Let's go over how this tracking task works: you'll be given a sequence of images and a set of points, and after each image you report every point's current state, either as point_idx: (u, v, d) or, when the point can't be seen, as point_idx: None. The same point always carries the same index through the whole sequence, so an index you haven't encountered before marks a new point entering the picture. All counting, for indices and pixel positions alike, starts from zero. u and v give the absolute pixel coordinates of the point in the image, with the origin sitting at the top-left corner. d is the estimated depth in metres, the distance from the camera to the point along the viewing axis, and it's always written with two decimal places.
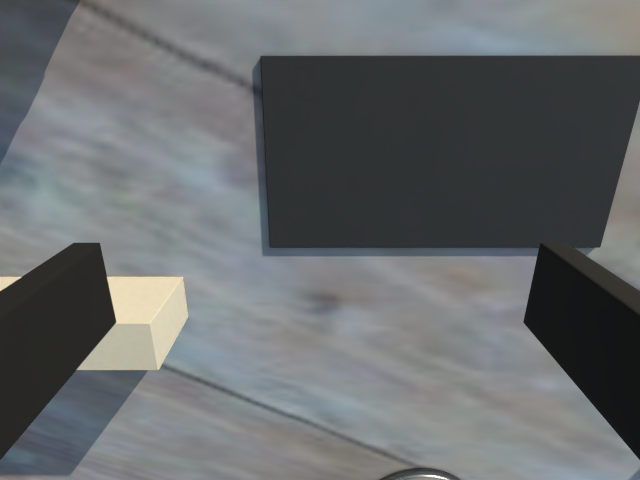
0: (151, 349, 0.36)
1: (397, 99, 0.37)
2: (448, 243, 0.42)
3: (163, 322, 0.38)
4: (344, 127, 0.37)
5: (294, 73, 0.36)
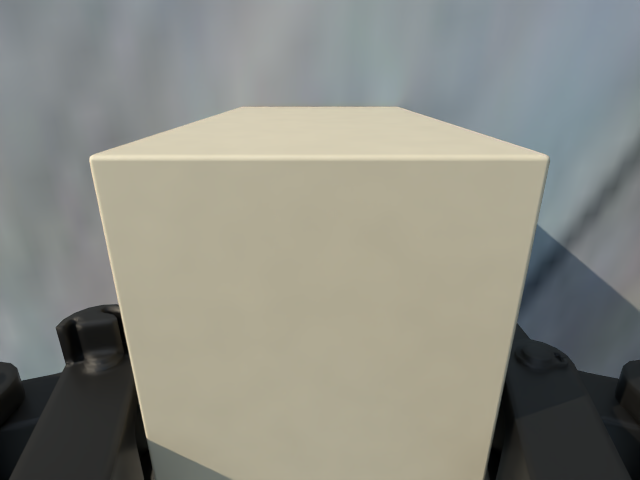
0: (336, 180, 0.04)
1: None
2: None
3: (266, 129, 0.07)
4: None
5: None
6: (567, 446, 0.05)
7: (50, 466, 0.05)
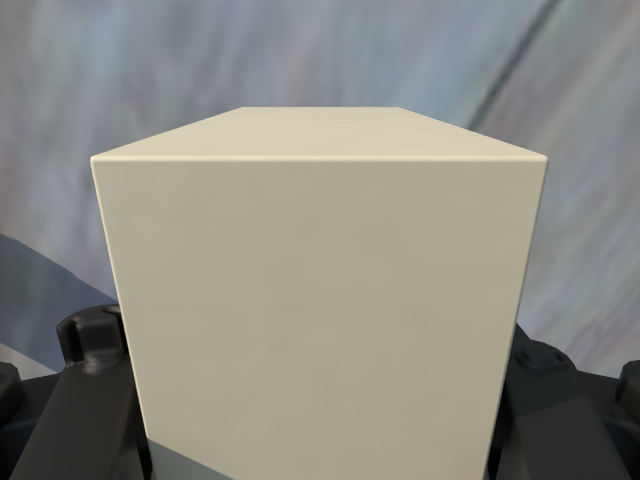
0: (336, 181, 0.04)
1: None
2: None
3: (266, 129, 0.07)
4: None
5: None
6: (567, 446, 0.05)
7: (50, 466, 0.05)
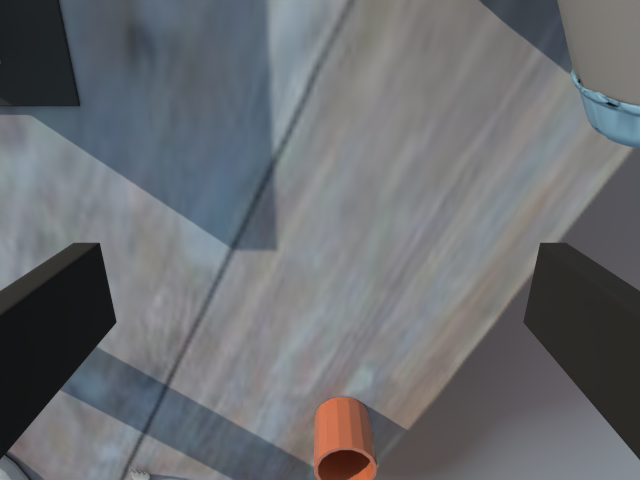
0: None
1: None
2: None
3: None
4: None
5: None
6: None
7: None
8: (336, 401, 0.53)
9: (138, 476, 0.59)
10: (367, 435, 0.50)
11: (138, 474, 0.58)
